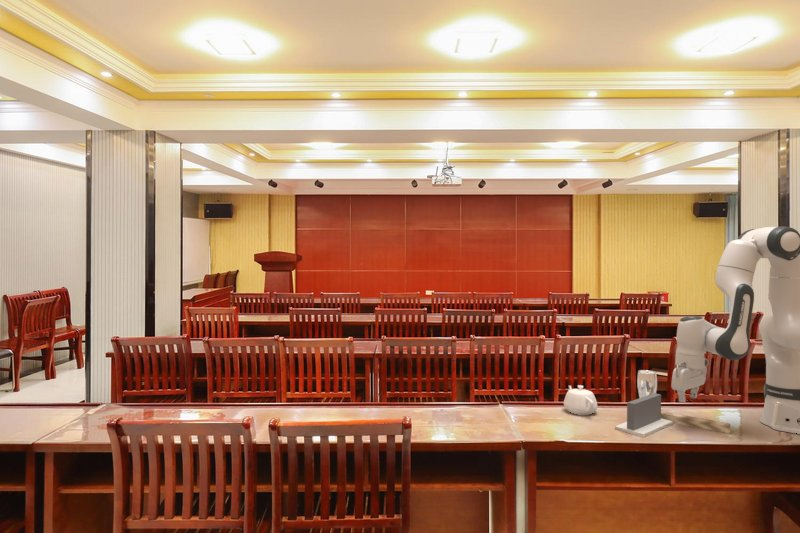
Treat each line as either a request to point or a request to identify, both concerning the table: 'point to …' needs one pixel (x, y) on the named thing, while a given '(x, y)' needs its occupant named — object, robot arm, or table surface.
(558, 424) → the table surface
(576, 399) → the teapot
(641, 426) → the stand
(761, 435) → the table surface
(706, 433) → the table surface
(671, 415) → the birch bar
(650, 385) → the beer glass
